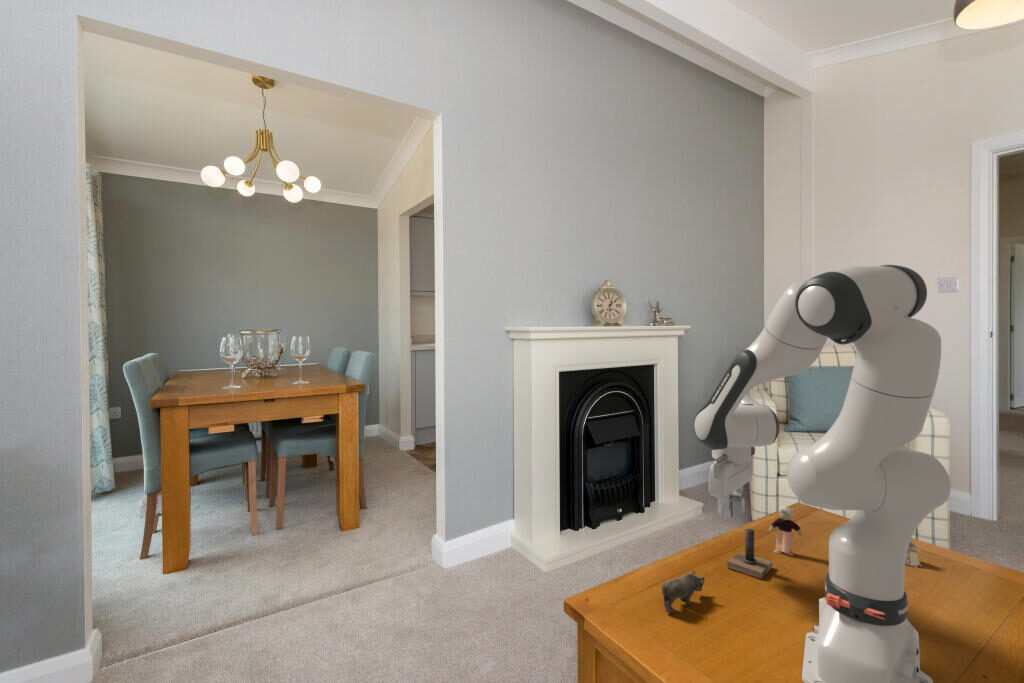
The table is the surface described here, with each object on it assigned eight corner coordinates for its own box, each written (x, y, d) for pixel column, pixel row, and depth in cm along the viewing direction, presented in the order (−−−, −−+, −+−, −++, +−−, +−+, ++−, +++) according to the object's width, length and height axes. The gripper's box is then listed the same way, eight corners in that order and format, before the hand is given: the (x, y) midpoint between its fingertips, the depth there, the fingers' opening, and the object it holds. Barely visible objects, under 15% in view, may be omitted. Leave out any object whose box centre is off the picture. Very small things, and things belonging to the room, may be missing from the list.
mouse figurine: (891, 552, 129) (891, 527, 129) (926, 565, 122) (926, 539, 122) (879, 555, 127) (879, 530, 127) (913, 569, 120) (913, 542, 120)
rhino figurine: (713, 596, 109) (713, 570, 109) (671, 615, 102) (671, 587, 101) (697, 588, 112) (697, 563, 112) (656, 606, 105) (656, 579, 105)
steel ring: (739, 519, 116) (738, 503, 116) (714, 513, 120) (714, 497, 120) (747, 512, 121) (747, 497, 121) (723, 507, 125) (723, 492, 125)
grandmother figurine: (771, 554, 129) (771, 507, 128) (768, 548, 132) (768, 502, 132) (804, 558, 126) (804, 510, 126) (799, 551, 130) (799, 505, 130)
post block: (761, 579, 116) (761, 539, 116) (727, 567, 122) (727, 530, 121) (772, 567, 122) (772, 530, 121) (739, 557, 127) (739, 521, 127)
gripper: (728, 461, 111) (728, 521, 111) (757, 446, 125) (757, 499, 126) (701, 457, 115) (701, 514, 115) (732, 442, 130) (732, 493, 130)
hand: (731, 506), depth 121 cm, fingers closed on steel ring, 6 cm apart
